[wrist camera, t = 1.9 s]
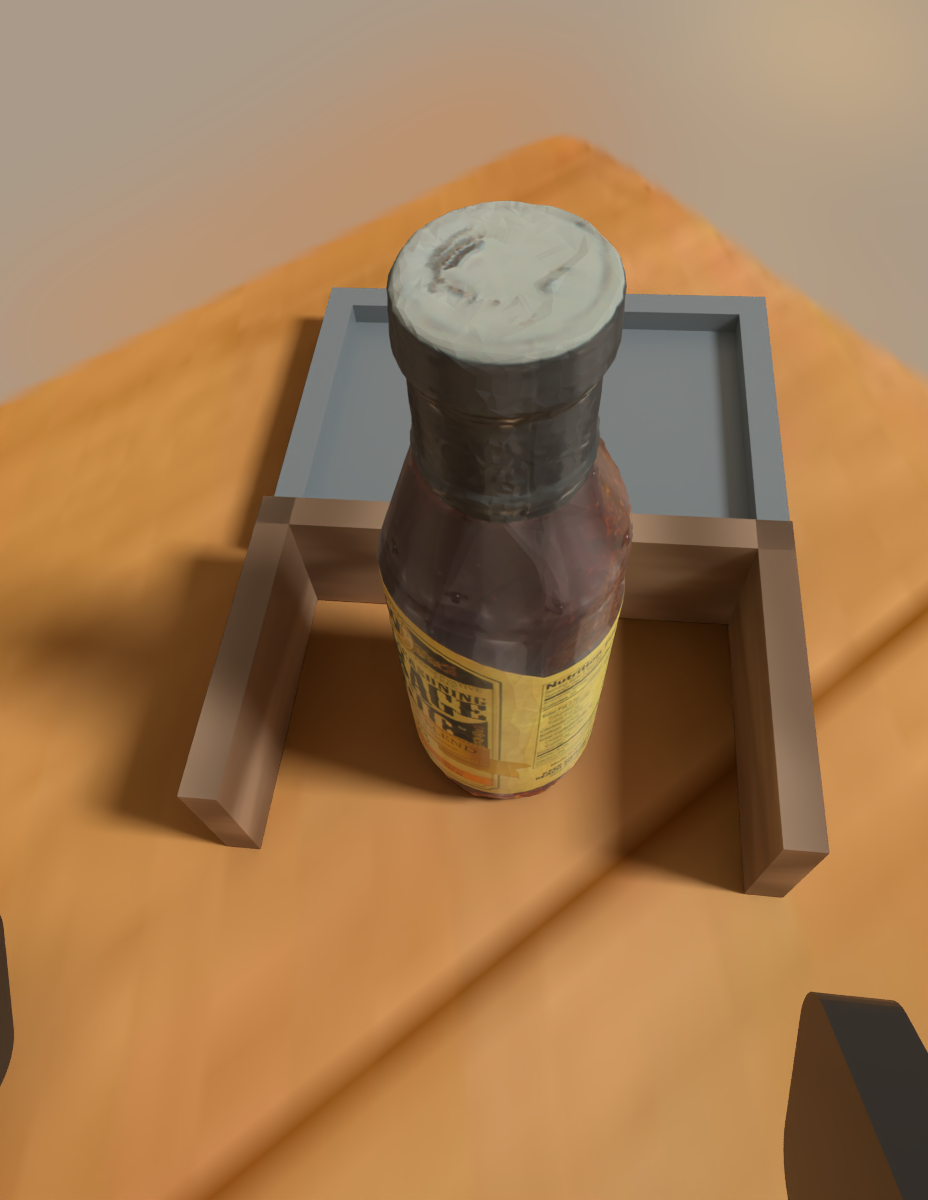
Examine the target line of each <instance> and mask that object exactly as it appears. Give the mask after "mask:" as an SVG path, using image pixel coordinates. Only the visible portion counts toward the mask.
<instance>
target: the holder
mask: <svg viewBox="0 0 928 1200" xmlns="http://www.w3.org/2000/svg"><path fill="white" fill-rule="evenodd" d="M389 504H390V502H383V501H363V500H342V499H321V498H300V497H280V496H263V499H262V502H261V506H260V509H259V513H258V516H257V519H256V523H255V526H254V530H253V533H252V537H251V540H250V544H249V547H248V551H247V554H246V558H245V561H244V565H243V568H242V572H241V575H240V579H239V582H238V586H237V589H236V593H235V596H234V599H233V603H232V606H231V610H230V613H229V617H228V620H227V624H226V627H225V631H224V634H223V638H222V641H221V645H220V648H219V652H218V655H217V659H216V662H215V666H214V669H213V673H212V676H211V679H210V683H209V686H208V690H207V693H206V697H205V700H204V704H203V707H202V711H201V714H200V718H199V721H198V725H197V728H196V732H195V735H194V739H193V742H192V746H191V749H190V753H189V756H188V759H187V763H186V766H185V770H184V773H183V777H182V780H181V784H180V787H179V791H178V794H177V797H178V798H179V799H180V800H181V801H182V802H183V803H184V804H185V805H186V806H187V807H188V808H189V809H190V810H191V811H192V812H193V813H194V814H195V815H196V816H197V817H198V818H199V819H200V820H201V821H202V822H203V823H204V824H205V825H206V826H207V827H208V828H209V829H210V830H211V831H212V832H213V833H214V834H215V835H216V836H217V837H218V838H219V839H220V840H221V841H222V842H223V843H224V844H225V845H226V846H233V847H244V848H255V849H261V845H262V840H263V836H264V831H265V827H266V823H267V818H268V814H269V810H270V805H271V801H272V796H273V792H274V788H275V783H276V779H277V774H278V770H279V766H280V761H281V757H282V753H283V748H284V744H285V739H286V735H287V731H288V726H289V722H290V718H291V713H292V709H293V704H294V700H295V696H296V691H297V687H298V683H299V678H300V674H301V669H302V665H303V661H304V656H305V652H306V648H307V643H308V639H309V634H310V630H311V626H312V621H313V617H314V613H315V608H316V604H317V599H318V600H334V601H351V602H367V603H383V604H387V603H386V599H385V595H384V589H383V583H382V579H381V575H380V571H379V566H378V556H377V546H378V538H379V534H380V531H381V528H382V525H383V522H384V519H385V516H386V513H387V510H388V507H389ZM631 515H632V522H633V530H632V533H633V537H632V543H631V551H630V559H629V562H628V566H627V569H626V572H625V576H624V579H625V589H624V597H623V603H622V607H621V611H620V615H619V618H630V619H647V620H663V621H679V622H696V623H712V624H728V628H729V645H730V662H731V679H732V696H733V712H734V729H735V746H736V763H737V780H738V796H739V813H740V830H741V847H742V864H743V880H744V894H751V895H762V896H773V897H784V896H785V895H786V894H787V893H788V892H789V891H790V890H791V889H792V888H793V887H794V886H796V885H797V884H798V883H799V882H800V881H801V880H802V879H803V878H804V877H805V876H806V875H807V874H808V873H809V872H810V871H811V870H812V869H813V868H814V867H816V866H817V865H818V864H819V863H820V862H821V861H822V860H823V859H824V858H825V857H826V856H827V855H828V854H829V845H828V836H827V827H826V818H825V809H824V800H823V791H822V782H821V773H820V764H819V755H818V747H817V738H816V729H815V720H814V711H813V702H812V693H811V684H810V675H809V666H808V657H807V648H806V639H805V630H804V621H803V612H802V603H801V594H800V585H799V577H798V568H797V559H796V550H795V541H794V532H793V523H792V521H778V520H757V519H736V518H715V517H695V516H674V515H653V514H632V513H631Z"/></svg>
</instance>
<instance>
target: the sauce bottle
mask: <svg viewBox="0 0 928 1200" xmlns="http://www.w3.org/2000/svg"><path fill="white" fill-rule="evenodd" d="M626 288H627V285H626V276H625V271H624V268H623V264H622V260H621V257H620V256H619V254H618V252H617V250H616V249H615V248H614V247H613V246H612V245H611V244H610V243H609V242H608V241H607V240H606V239H605V238H604V237H603V236H602V235H601V234H600V233H599V232H598V231H597V230H596V229H595V228H594V227H593V225H592V224H591V223H589V222H588V221H586V220H584V219H582V218H580V217H579V216H577V215H574V214H572V213H570V212H567V211H565V210H562V209H559V208H556V207H552V206H547V205H532V204H528V203H523V202H517V201H495V202H487V203H481V204H477V205H472V206H468V207H464V208H461V209H457V210H454V211H450V212H449V213H447V214H445V215H443V216H441V217H439V218H437V219H435V220H433V221H431V222H430V223H428V224H426V225H425V226H424V227H423V228H421V229H419V230H417V231H416V232H415V233H414V234H413V235H412V237H411V238H410V239H409V240H408V242H407V243H406V244H405V246H404V247H403V248H402V249H401V251H400V252H399V254H398V256H397V258H396V260H395V262H394V264H393V266H392V268H391V270H390V272H389V274H388V281H387V287H386V290H387V310H388V320H389V325H388V328H389V338H390V344H391V350H392V353H393V356H394V358H395V360H396V362H397V364H398V366H399V368H400V370H401V372H402V374H403V375H404V376H405V378H406V383H407V392H408V400H409V406H410V412H411V422H412V424H411V429H410V446H409V449H408V452H407V455H406V458H405V460H404V463H403V466H402V469H401V472H400V475H399V478H398V481H397V484H396V487H395V490H394V493H393V496H392V499H391V501H390V504H389V507H388V510H387V513H386V516H385V519H384V522H383V525H382V528H381V531H380V534H379V538H378V546H377V556H378V566H379V571H380V575H381V579H382V583H383V589H384V595H385V599H386V603H387V606H388V610H389V614H390V622H391V624H392V629H393V635H394V639H395V643H396V647H397V650H398V653H399V659H400V663H401V667H402V672H403V678H404V680H405V683H406V687H407V692H408V696H409V700H410V704H411V708H412V713H413V717H414V721H415V725H416V729H417V732H418V735H419V738H420V740H421V742H422V745H423V746H424V748H425V750H426V751H427V753H428V755H429V756H430V758H431V759H432V760H433V762H434V763H435V764H436V765H437V766H438V767H439V768H440V769H441V770H442V771H443V772H444V773H445V775H446V776H447V777H448V778H450V779H451V780H452V781H454V782H455V783H456V784H458V785H459V786H460V787H462V788H463V789H464V790H466V791H468V792H469V793H471V794H472V795H475V796H479V795H480V796H485V797H491V798H502V799H509V798H519V797H530V796H533V795H536V794H540V793H542V792H544V791H546V790H547V789H548V788H549V787H551V786H552V785H553V784H555V783H556V782H557V781H558V780H560V779H561V778H562V777H563V775H564V774H565V773H567V772H568V770H569V769H570V768H572V767H573V766H574V764H575V763H576V761H577V760H578V758H579V757H580V756H581V754H582V752H583V751H584V749H585V747H586V745H587V743H588V740H589V738H590V735H591V732H592V728H593V724H594V719H595V715H596V711H597V707H598V703H599V699H600V694H601V691H602V686H603V682H604V678H605V674H606V669H607V665H608V661H609V656H610V652H611V648H612V644H613V640H614V636H615V632H616V627H617V623H618V619H619V615H620V611H621V607H622V603H623V597H624V589H625V579H624V576H625V572H626V569H627V566H628V562H629V559H630V551H631V543H632V537H633V533H632V530H633V522H632V515H631V508H632V507H631V505H630V503H629V497H628V493H627V489H626V486H625V484H624V481H623V479H622V478H621V474H620V471H619V468H618V467H617V465H616V464H615V462H614V461H613V460H612V458H611V456H610V454H609V452H608V451H607V449H606V447H605V442H604V441H603V439H602V438H600V430H599V425H600V418H599V415H598V413H599V407H600V400H601V393H602V383H603V375H604V374H605V373H606V372H607V370H608V369H609V367H610V366H611V364H612V363H613V361H614V360H615V358H616V355H617V352H618V348H619V345H620V342H621V339H622V329H623V319H624V309H625V295H626Z"/></svg>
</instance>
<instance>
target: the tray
mask: <svg viewBox="0 0 928 1200" xmlns="http://www.w3.org/2000/svg"><path fill="white" fill-rule="evenodd" d="M388 325H389V320H388V310H387V290H386V289H378V288H332V290H331V294H330V297H329V301H328V305H327V308H326V312H325V315H324V319H323V323H322V326H321V330H320V333H319V337H318V340H317V344H316V348H315V351H314V355H313V358H312V362H311V365H310V369H309V373H308V376H307V380H306V383H305V387H304V391H303V394H302V398H301V401H300V405H299V408H298V412H297V416H296V419H295V423H294V426H293V430H292V434H291V437H290V441H289V444H288V448H287V451H286V455H285V459H284V462H283V466H282V469H281V473H280V476H279V480H278V484H277V487H276V491H275V494H274V496H280V497H300V498H321V499H342V500H363V501H383V502H390V501H391V499H392V496H393V493H394V490H395V487H396V484H397V481H398V478H399V475H400V472H401V469H402V466H403V463H404V460H405V458H406V455H407V452H408V449H409V446H410V429H411V424H412V422H411V412H410V406H409V400H408V392H407V383H406V378H405V376H404V375H403V374H402V372H401V370H400V368H399V366H398V364H397V362H396V360H395V358H394V356H393V353H392V350H391V344H390V338H389V328H388ZM598 415H599V418H600V425H599V430H600V438H602V439H603V441H604V442H605V447H606V449H607V451H608V452H609V454H610V456H611V458H612V460H613V461H614V462H615V464H616V465H617V467H618V468H619V471H620V474H621V478H622V479H623V481H624V484H625V486H626V489H627V493H628V497H629V503H630V505H631V507H632V508H631V513H632V514H653V515H674V516H695V517H715V518H736V519H757V520H778V521H790V519H789V510H788V501H787V491H786V482H785V473H784V464H783V455H782V446H781V437H780V428H779V419H778V410H777V400H776V391H775V382H774V373H773V364H772V355H771V346H770V337H769V328H768V319H767V309H766V300H765V297H743V296H698V295H652V294H626V295H625V309H624V319H623V329H622V339H621V342H620V345H619V348H618V352H617V355H616V358H615V360H614V361H613V363H612V364H611V366H610V367H609V369H608V370H607V372H606V373H605V374H604V375H603V383H602V393H601V400H600V407H599V413H598Z"/></svg>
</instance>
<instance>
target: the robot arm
mask: <svg viewBox="0 0 928 1200" xmlns="http://www.w3.org/2000/svg"><path fill="white" fill-rule="evenodd" d="M13 1042H14V1028H13V1018H12V1008H11V998H10V988H9V978H8V968H7V958H6V947H5V937H4V928H3V922H2V918H1V916H0V1086H1V1084H2V1082H3V1079H4V1077H5V1074H6V1072H7V1069H8V1066H9V1063H10V1059H11V1055H12V1050H13ZM784 1170H785V1180H786V1188H787V1195H788V1200H928V1053H927V1051H926V1049H925V1047H924V1045H923V1043H922V1042H921V1040H920V1038H919V1036H918V1034H917V1032H916V1031H915V1029H914V1027H913V1025H912V1023H911V1021H910V1020H909V1018H908V1016H907V1014H906V1012H905V1011H904V1009H903V1008H902V1007H901V1005H900V1004H899V1003H897V1002H896V1001H893V1000H884V999H874V998H864V997H855V996H845V995H835V994H826V993H816V992H810V993H808V994H807V995H806V997H805V999H804V1002H803V1005H802V1009H801V1015H800V1022H799V1029H798V1036H797V1043H796V1050H795V1057H794V1064H793V1072H792V1079H791V1086H790V1093H789V1100H788V1107H787V1114H786V1121H785V1130H784Z"/></svg>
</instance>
